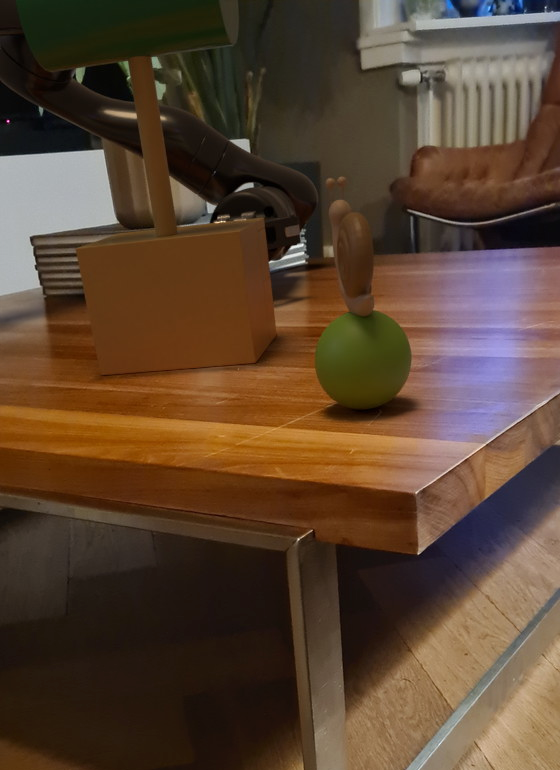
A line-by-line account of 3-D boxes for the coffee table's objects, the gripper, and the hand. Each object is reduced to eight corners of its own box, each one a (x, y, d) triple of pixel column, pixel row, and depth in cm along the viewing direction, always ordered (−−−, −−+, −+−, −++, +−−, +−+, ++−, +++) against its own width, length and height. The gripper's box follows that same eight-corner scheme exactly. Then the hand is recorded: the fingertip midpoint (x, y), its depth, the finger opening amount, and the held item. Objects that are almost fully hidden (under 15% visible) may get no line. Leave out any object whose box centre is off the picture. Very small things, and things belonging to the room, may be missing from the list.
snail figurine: (394, 386, 56) (382, 171, 51) (425, 411, 51) (416, 171, 45) (307, 400, 56) (286, 183, 50) (330, 426, 50) (309, 186, 45)
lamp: (261, 364, 66) (206, -99, 54) (92, 377, 69) (2, -62, 56) (282, 335, 75) (240, -67, 63) (132, 347, 78) (63, -37, 65)
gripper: (318, 259, 97) (295, 283, 82) (197, 271, 99) (154, 297, 84) (311, 181, 94) (286, 192, 78) (187, 195, 96) (139, 208, 81)
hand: (217, 246), depth 81 cm, fingers closed
